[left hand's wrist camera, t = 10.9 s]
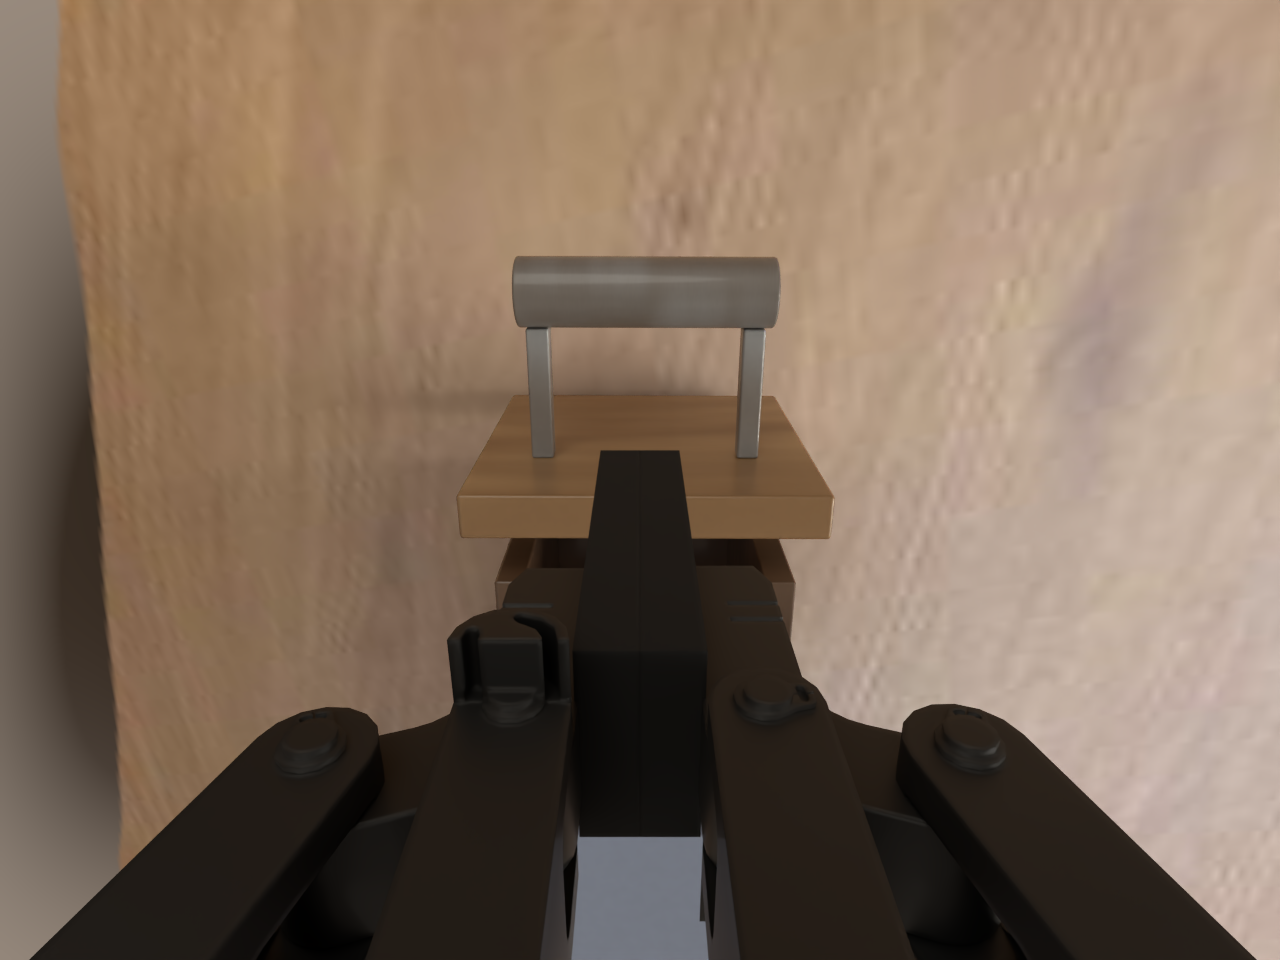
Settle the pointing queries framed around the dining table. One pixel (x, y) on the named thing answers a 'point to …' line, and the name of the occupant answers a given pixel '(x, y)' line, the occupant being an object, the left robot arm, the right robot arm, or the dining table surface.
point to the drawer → (647, 422)
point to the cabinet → (639, 899)
